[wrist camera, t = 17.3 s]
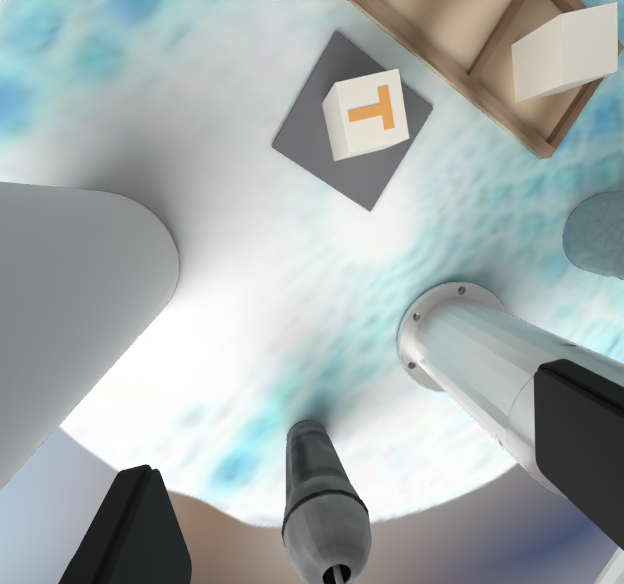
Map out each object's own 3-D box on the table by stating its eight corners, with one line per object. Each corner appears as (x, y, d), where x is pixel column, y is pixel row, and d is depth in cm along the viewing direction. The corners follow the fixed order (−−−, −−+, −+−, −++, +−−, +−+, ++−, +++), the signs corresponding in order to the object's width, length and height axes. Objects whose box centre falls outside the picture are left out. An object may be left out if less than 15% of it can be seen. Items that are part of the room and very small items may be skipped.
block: (511, 45, 33) (560, 14, 27) (559, 34, 33) (617, 1, 28) (515, 103, 34) (563, 84, 29) (562, 92, 34) (617, 71, 29)
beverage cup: (327, 399, 39) (397, 588, 20) (345, 451, 41) (425, 669, 22) (265, 422, 38) (274, 639, 19) (286, 474, 40) (314, 717, 21)
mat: (431, 108, 33) (433, 107, 33) (369, 211, 35) (370, 211, 34) (334, 32, 31) (335, 30, 30) (271, 146, 32) (271, 146, 32)
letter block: (321, 103, 31) (335, 82, 26) (376, 90, 32) (400, 67, 26) (334, 161, 33) (349, 152, 27) (385, 148, 33) (411, 137, 28)
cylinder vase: (184, 201, 32) (-31, 189, 8) (178, 331, 35) (3, 614, 11) (29, 181, 30) (-911, 81, 6) (36, 322, 32) (-587, 652, 8)
